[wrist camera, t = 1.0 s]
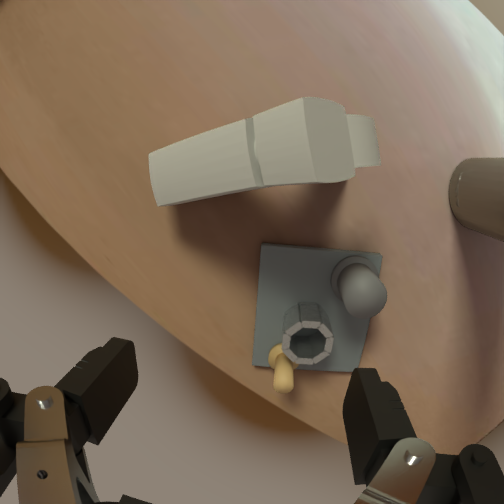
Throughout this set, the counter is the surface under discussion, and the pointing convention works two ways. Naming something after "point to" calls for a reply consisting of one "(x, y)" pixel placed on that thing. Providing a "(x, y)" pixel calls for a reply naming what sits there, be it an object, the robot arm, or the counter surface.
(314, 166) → the faucet
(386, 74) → the counter surface
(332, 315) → the board
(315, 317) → the tube
